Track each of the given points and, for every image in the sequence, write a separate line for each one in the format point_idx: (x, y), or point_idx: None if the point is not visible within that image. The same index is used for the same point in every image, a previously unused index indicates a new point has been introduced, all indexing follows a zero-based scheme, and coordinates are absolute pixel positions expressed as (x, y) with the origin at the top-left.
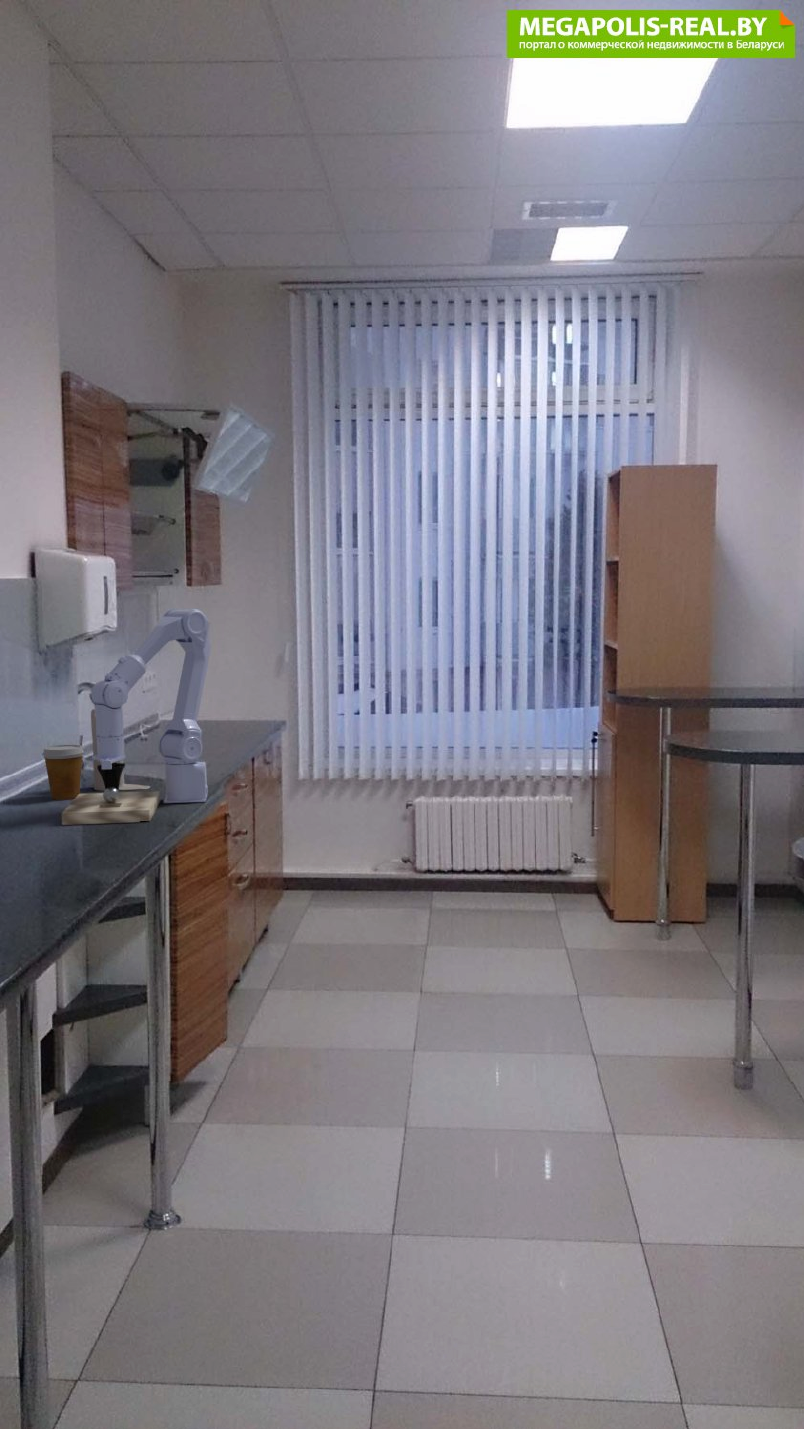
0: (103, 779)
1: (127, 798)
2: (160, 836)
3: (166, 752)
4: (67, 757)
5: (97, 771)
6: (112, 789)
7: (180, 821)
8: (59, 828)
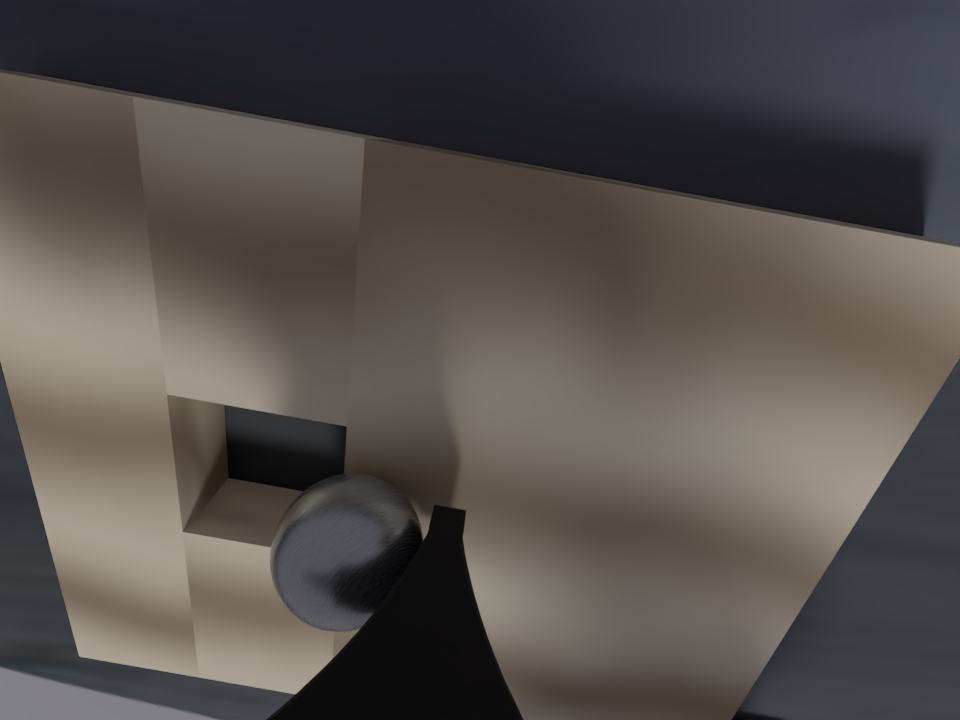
0: (356, 638)
1: (514, 601)
2: None
3: None
4: None
5: None
6: (287, 604)
7: (131, 692)
8: None
